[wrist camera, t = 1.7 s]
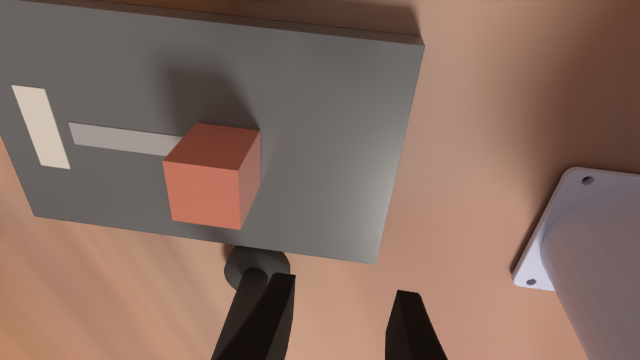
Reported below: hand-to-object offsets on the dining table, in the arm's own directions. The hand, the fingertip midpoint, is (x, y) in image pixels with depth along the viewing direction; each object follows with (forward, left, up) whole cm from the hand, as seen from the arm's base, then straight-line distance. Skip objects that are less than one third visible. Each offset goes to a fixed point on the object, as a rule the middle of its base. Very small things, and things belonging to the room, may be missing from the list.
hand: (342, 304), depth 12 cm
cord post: (+5, +9, -9) cm, 14 cm away
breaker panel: (+8, 0, -9) cm, 12 cm away
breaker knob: (+6, 0, -8) cm, 10 cm away
